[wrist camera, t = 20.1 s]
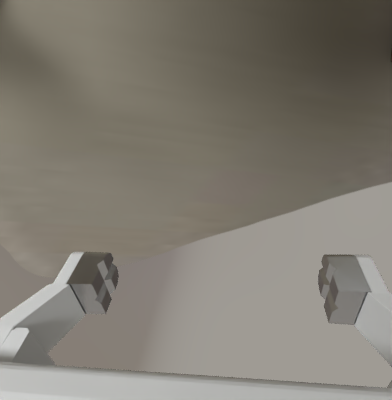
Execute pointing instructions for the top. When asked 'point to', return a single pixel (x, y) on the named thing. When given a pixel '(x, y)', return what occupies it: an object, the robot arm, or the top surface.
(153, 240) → the top surface
